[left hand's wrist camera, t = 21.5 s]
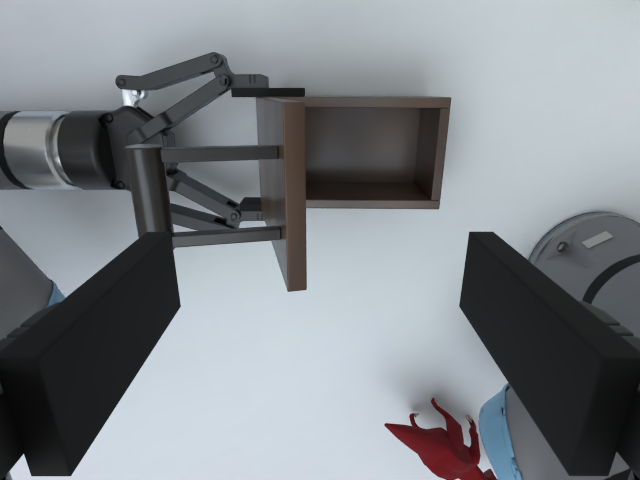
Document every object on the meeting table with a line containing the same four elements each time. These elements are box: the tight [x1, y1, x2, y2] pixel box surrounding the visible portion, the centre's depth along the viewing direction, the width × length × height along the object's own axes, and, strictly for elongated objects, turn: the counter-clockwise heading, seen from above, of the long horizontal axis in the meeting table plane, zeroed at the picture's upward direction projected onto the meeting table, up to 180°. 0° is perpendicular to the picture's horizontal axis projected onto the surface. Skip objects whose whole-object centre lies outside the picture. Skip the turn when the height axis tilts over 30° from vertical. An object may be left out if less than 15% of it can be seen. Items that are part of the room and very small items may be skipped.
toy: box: [385, 398, 498, 480], centre depth 51 cm, size 7×25×15 cm
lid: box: [124, 97, 307, 292], centre depth 28 cm, size 17×10×9 cm
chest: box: [272, 96, 451, 209], centre depth 41 cm, size 16×10×9 cm, turn 90°
